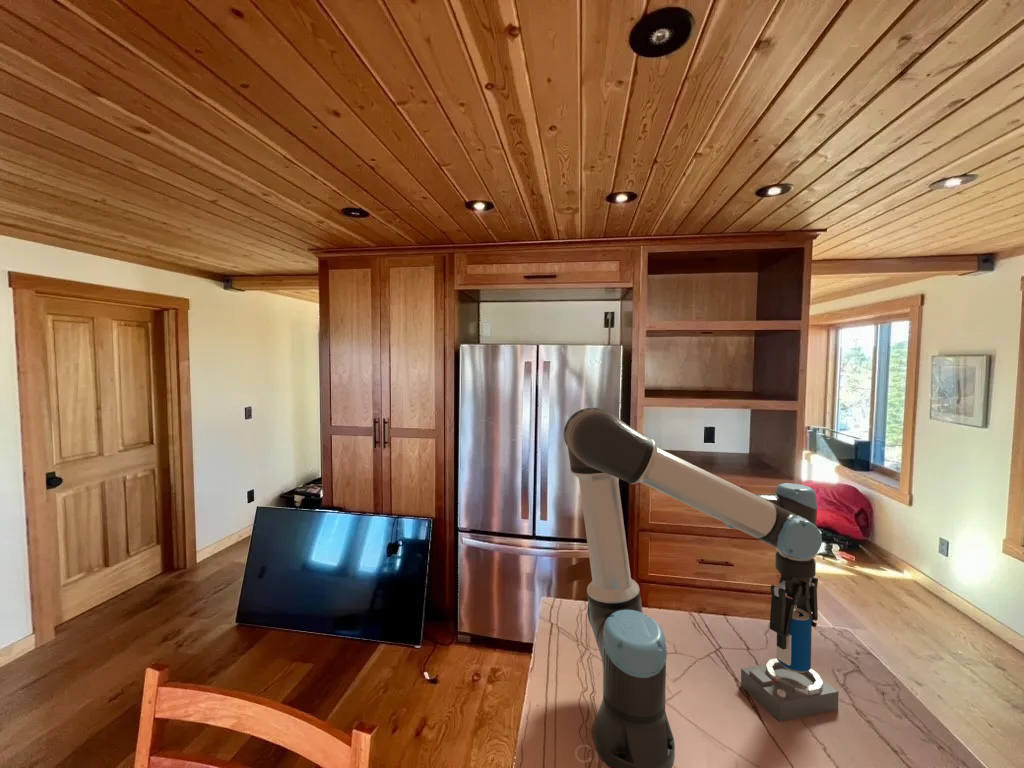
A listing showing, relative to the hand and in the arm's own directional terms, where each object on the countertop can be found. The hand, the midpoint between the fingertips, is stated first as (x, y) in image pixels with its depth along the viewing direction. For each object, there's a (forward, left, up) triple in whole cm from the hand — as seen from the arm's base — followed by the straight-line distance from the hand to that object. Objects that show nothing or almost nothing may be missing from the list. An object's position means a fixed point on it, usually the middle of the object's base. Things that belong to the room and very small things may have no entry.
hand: (793, 656), depth 98 cm
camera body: (-1, 0, -9) cm, 9 cm away
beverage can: (0, 0, -2) cm, 2 cm away
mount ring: (0, 0, -5) cm, 5 cm away
